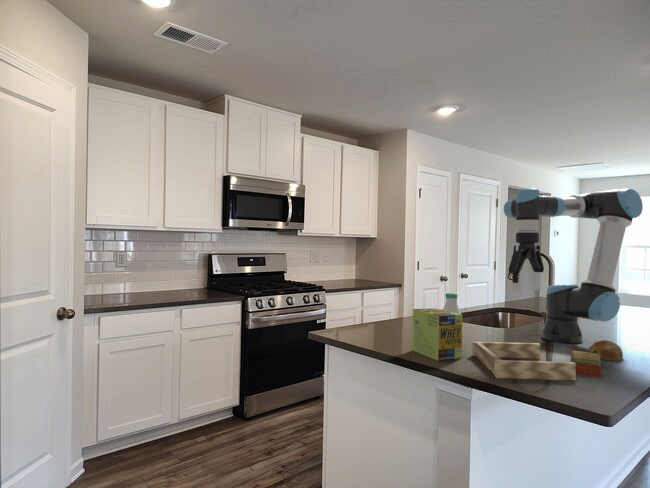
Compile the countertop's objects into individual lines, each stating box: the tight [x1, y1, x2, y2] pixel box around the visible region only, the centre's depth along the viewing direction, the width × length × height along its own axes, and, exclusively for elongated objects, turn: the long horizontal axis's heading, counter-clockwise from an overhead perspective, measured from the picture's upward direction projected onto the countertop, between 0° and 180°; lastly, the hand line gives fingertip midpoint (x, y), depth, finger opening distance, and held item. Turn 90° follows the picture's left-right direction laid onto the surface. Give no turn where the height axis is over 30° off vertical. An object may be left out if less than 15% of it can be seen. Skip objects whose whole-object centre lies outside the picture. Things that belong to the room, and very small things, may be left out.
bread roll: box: [588, 339, 624, 362], centre depth 152 cm, size 10×10×8 cm
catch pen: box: [471, 341, 577, 381], centre depth 140 cm, size 23×25×5 cm
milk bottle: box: [442, 292, 462, 314], centre depth 170 cm, size 8×8×20 cm
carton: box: [570, 350, 602, 378], centre depth 138 cm, size 8×16×4 cm, turn 148°
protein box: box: [411, 307, 463, 362], centre depth 154 cm, size 10×15×16 cm
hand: (526, 291), depth 154 cm, fingers open, 13 cm apart
